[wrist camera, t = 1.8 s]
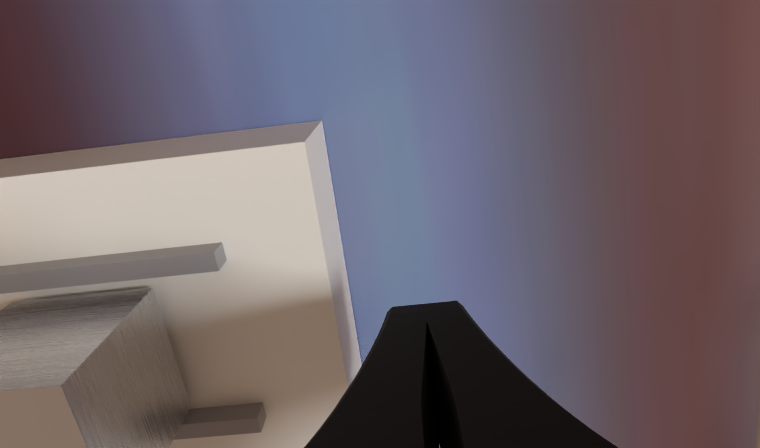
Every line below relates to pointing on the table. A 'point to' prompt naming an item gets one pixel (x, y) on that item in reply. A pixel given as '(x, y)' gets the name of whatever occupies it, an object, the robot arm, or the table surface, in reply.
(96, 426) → the slider knob
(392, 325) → the robot arm
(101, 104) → the table surface
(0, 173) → the control panel
